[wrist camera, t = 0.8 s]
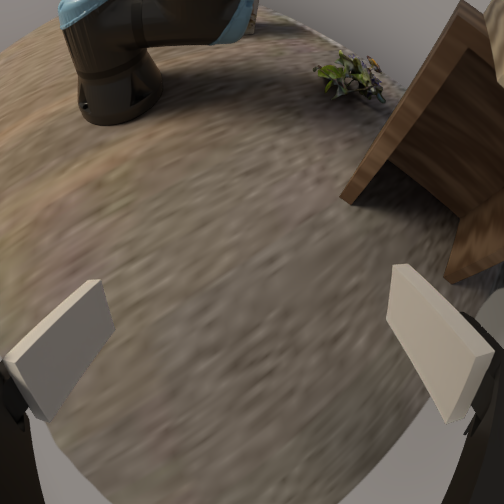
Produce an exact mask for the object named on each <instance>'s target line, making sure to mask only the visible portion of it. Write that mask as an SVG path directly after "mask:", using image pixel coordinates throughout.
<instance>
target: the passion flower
mask: <svg viewBox="0 0 504 504" xmlns="http://www.w3.org/2000/svg"><path fill="white" fill-rule="evenodd" d="M339 56H340V58H339V59H337V60H336V61H335V63H338V64H341V65H343V66H344V67H345V68H344V72H343V68H342V67H339V68H337V67H336V66H334V65H327V66H324V67H321V66H319V65H318V66H317V67H315V68H313V71H314V72H315V71H316V70H317V69H319V70H318V76H319V77H323V78H327V79H331V81H330V82H329V83H328V84H327V85H326V87H325V93H326V92H327V91H328V90H329V88H330V87H331V86H332V85H335V84H336V85H338V89H337V93H336V95H335V97H334V98H332V99H330V100H333V99H335V98H337V97H339V96H341V95H347V94H348V93H349V92H354V91H359V92H360V94H361V95H364V96H365V97H367V98H368V99H369V100H370V99H371V95H376V96H377V98H378V100H379V101H380V102H381V103H385V102H386V100H385V99H384V98H383V96H382V95H381V94H382V90H383V87H381V86H380V85H379V82H380V83H382V82H381V81H380V80H379V79H378V78H376V77H375V76H374V74H372V72H371V70H372V69H374V70H375V71H376V72H379V73H381V72H382V71H381V70H380V67H379V66H378V64H376V62H375V61H374V60H373V59H372V58H371V57H369V56H367V59H368V60H369V62H370V64H371V65H372V67H371V68H367V66H366V65H364V63H363V61H362V63H361V61H360V59H359V57H358V58H357V57H355V56H354V54H353V57H352V56H351V55H350V56H349V55H348V56H349V57H350V59H349V58H348V57H346V56H345V55H344V54H343V53H342V51H341V50H340V51H339ZM350 71H351V74H350V73H349V72H350ZM381 74H382V73H381ZM347 77H349V78H352V79H353V80H352V81H354V80H356V81H358V83H359V86H358V89H357V90H347V87H348V86H349V85H350V83H351V82H352V81H351V82H350V83H349V84H348V85H345V83H344V80H345V78H347ZM338 81H339V82H341V83H342V84H343V87H341V86H340V85H339V84H338Z"/></svg>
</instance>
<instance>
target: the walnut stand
mask: <svg viewBox="0 0 504 504" xmlns="http://www.w3.org/2000/svg"><path fill="white" fill-rule="evenodd" d="M387 159H388V160H389V161H390V162H392V163H393V164H394V165H396V166H397V167H398V168H400V169H401V170H402V171H404V172H405V173H406V174H408V175H409V176H410V177H411V178H413V179H414V180H415V181H417V182H418V183H419V184H420V185H422V186H423V187H424V188H425V189H426V190H428V191H429V192H430V193H431V194H433V195H434V196H435V197H436V198H437V199H438V200H440V201H441V202H442V203H443V204H444V205H445V206H447V207H448V208H449V209H450V210H451V211H452V212H453V213H454V214H456V215H457V216H458V217H459V218H460V221H459V225H458V229H457V233H456V237H455V240H454V244H453V247H452V251H451V254H450V258H449V261H448V264H447V267H446V270H445V273H444V276H443V277H444V278H445V279H446V280H447V281H448V282H449V283H451V284H454V283H456V282H458V281H461V280H463V279H465V278H468V277H470V276H472V275H474V274H477V273H479V272H481V271H483V270H486V269H488V268H490V267H492V266H494V265H496V264H498V263H501V262H503V261H504V88H503V87H502V86H501V85H500V84H499V83H498V82H497V77H496V70H495V64H494V59H493V53H492V48H491V44H490V39H489V35H488V31H487V27H486V23H485V19H484V16H483V14H482V13H481V12H479V11H478V10H477V9H475V8H474V7H473V6H471V5H470V4H468V3H467V2H465V1H464V0H460V2H459V3H458V5H457V7H456V9H455V10H454V12H453V14H452V16H451V17H450V19H449V21H448V23H447V25H446V26H445V28H444V30H443V31H442V33H441V35H440V36H439V38H438V40H437V41H436V43H435V45H434V47H433V48H432V50H431V52H430V53H429V55H428V57H427V58H426V60H425V61H424V63H423V65H422V67H421V68H420V70H419V71H418V73H417V74H416V76H415V78H414V79H413V81H412V83H411V84H410V86H409V87H408V89H407V91H406V92H405V94H404V95H403V97H402V98H401V100H400V102H399V103H398V105H397V106H396V108H395V109H394V111H393V113H392V114H391V116H390V117H389V119H388V120H387V122H386V123H385V125H384V126H383V128H382V130H381V131H380V133H379V134H378V136H377V137H376V139H375V140H374V142H373V143H372V145H371V147H370V148H369V150H368V152H367V153H366V155H365V156H364V158H363V160H362V161H361V163H360V165H359V166H358V168H357V169H356V171H355V173H354V174H353V176H352V177H351V179H350V181H349V182H348V184H347V185H346V187H345V189H344V190H343V192H342V193H341V195H340V196H339V197H340V198H342V199H343V200H344V201H346V202H347V203H349V204H350V205H351V204H352V203H353V202H354V201H355V199H356V198H357V197H358V196H359V194H360V193H361V192H362V191H363V189H364V188H365V187H366V186H367V184H368V183H369V182H370V181H371V179H372V178H373V177H374V176H375V174H376V173H377V172H378V170H379V169H380V168H381V167H382V165H383V164H384V163H385V162H386V160H387Z"/></svg>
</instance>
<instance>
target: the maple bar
mask: <svg viewBox="0 0 504 504" xmlns="http://www.w3.org/2000/svg"><path fill="white" fill-rule="evenodd" d="M483 16H484V19H485V23H486V27H487V31H488V35H489V39H490V44H491V48H492V53H493V59H494V64H495V70H496V77H497V82H498V83H499V84H500V85H501V86H502V87H503V88H504V0H492V1H491V2H490V4H489V6H488V7H487V9H486V11H485V12H484V14H483Z"/></svg>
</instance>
